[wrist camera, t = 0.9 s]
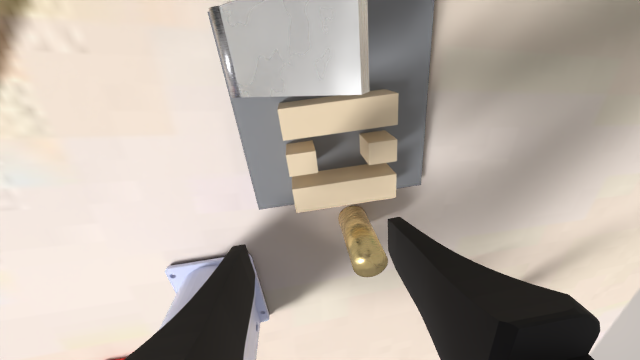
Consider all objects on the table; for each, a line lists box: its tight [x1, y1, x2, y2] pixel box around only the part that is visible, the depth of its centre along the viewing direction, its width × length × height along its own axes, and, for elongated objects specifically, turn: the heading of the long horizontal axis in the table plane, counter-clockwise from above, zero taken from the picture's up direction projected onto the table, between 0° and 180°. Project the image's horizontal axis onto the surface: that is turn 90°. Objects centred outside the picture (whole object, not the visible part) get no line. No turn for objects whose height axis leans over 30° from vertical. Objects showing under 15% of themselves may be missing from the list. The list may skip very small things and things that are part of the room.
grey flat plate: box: [209, 0, 370, 98], centre depth 12 cm, size 4×8×1 cm
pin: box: [338, 206, 388, 277], centre depth 21 cm, size 3×3×6 cm
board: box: [208, 0, 434, 213], centre depth 18 cm, size 14×14×4 cm
